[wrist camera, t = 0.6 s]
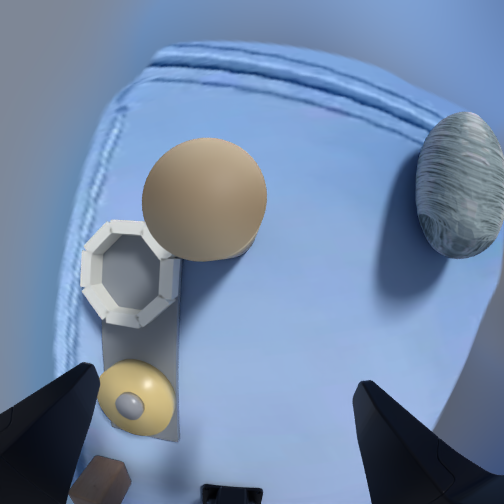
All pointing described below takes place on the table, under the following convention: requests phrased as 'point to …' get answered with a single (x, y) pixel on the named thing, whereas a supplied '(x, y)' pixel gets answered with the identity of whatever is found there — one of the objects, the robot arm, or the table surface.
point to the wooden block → (101, 483)
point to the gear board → (136, 326)
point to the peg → (204, 200)
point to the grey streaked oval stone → (460, 186)
